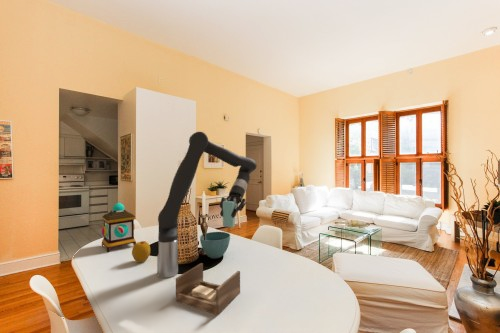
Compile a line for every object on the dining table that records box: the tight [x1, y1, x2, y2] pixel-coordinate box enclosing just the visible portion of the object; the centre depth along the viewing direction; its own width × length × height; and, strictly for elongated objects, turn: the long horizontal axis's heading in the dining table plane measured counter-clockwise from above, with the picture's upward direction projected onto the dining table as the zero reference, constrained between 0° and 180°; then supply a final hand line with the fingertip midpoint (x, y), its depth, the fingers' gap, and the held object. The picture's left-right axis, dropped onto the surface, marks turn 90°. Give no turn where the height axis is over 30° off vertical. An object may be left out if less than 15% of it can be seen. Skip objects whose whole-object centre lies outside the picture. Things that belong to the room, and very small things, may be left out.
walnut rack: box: [175, 262, 241, 316], centre depth 95 cm, size 20×16×10 cm
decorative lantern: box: [101, 202, 137, 253], centre depth 162 cm, size 20×20×30 cm
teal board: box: [222, 201, 236, 228], centre depth 115 cm, size 6×2×12 cm, turn 64°
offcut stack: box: [192, 285, 216, 303], centre depth 91 cm, size 9×5×4 cm, turn 64°
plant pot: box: [199, 231, 231, 259], centre depth 142 cm, size 18×18×12 cm
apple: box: [131, 240, 151, 263], centre depth 135 cm, size 10×10×12 cm
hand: (227, 216), depth 113 cm, fingers closed on teal board, 5 cm apart
